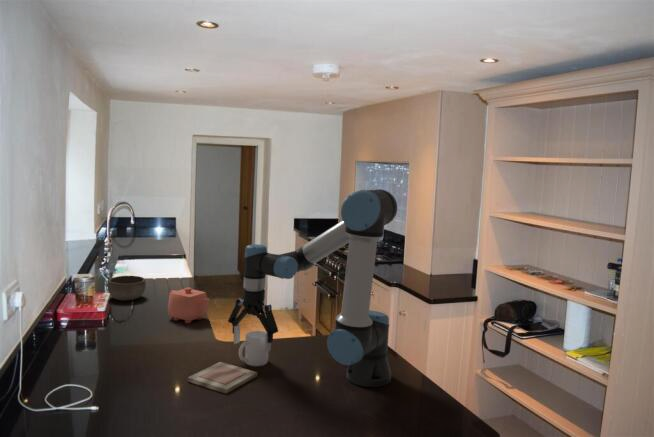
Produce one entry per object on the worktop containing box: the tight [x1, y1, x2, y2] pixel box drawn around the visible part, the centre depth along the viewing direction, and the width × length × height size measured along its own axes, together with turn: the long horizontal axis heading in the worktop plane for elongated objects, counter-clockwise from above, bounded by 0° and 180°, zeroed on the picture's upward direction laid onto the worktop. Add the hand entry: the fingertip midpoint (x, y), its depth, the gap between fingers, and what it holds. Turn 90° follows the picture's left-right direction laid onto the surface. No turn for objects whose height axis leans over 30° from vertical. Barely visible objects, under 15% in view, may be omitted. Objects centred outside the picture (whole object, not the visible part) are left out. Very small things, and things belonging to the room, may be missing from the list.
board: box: [187, 361, 258, 394], centre depth 174 cm, size 16×16×2 cm
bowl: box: [107, 275, 147, 302], centre depth 264 cm, size 17×18×10 cm
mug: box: [238, 330, 269, 367], centre depth 188 cm, size 12×8×10 cm
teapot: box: [167, 287, 210, 324], centre depth 235 cm, size 22×13×14 cm, turn 61°
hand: (251, 347), depth 188 cm, fingers open, 13 cm apart
